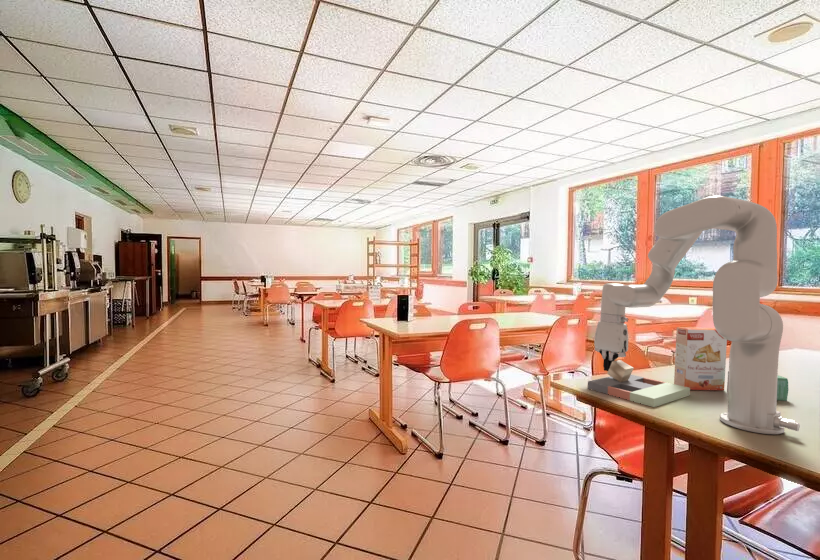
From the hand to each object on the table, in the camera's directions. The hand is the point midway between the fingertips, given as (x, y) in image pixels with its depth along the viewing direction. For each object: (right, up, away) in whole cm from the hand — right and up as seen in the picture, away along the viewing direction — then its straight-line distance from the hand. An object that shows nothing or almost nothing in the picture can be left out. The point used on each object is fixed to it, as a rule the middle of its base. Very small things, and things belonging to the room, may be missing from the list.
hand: (608, 370), depth 138 cm
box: (+43, -6, -11) cm, 45 cm away
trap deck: (+5, -5, -8) cm, 11 cm away
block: (+2, -2, -3) cm, 4 cm away
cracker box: (+30, -6, -2) cm, 31 cm away
